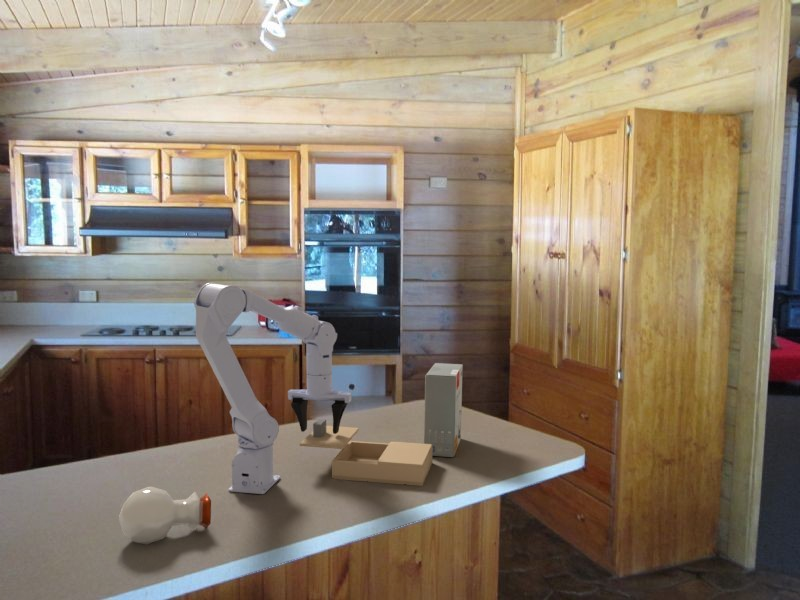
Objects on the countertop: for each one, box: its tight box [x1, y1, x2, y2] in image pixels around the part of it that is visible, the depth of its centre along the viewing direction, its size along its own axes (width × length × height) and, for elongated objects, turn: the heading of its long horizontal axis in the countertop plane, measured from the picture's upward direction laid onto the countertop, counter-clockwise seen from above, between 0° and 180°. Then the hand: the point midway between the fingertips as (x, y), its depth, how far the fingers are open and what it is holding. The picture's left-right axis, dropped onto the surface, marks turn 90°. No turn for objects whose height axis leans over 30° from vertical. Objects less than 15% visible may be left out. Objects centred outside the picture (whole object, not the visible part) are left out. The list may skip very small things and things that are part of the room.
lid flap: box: [299, 418, 360, 450], centre depth 150 cm, size 14×10×4 cm
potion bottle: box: [118, 485, 212, 545], centre depth 116 cm, size 9×10×15 cm
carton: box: [331, 440, 433, 487], centre depth 149 cm, size 14×20×5 cm
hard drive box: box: [423, 362, 464, 458], centre depth 164 cm, size 16×8×20 cm, turn 168°
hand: (319, 431), depth 151 cm, fingers open, 7 cm apart
